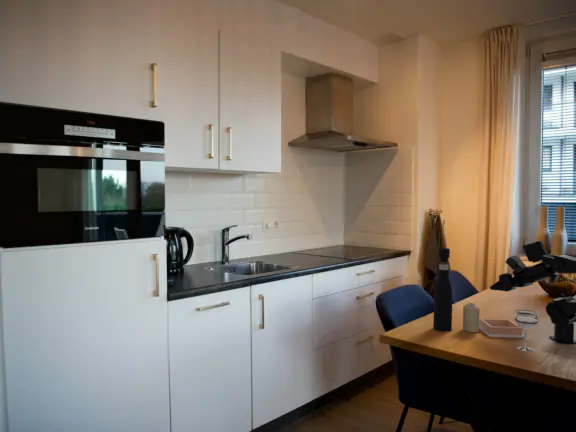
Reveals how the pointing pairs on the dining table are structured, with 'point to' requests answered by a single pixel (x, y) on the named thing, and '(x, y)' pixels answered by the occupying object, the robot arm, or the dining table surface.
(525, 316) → the wineglass
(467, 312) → the candle
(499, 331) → the pink square tray
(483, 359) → the dining table surface
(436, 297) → the wine bottle
